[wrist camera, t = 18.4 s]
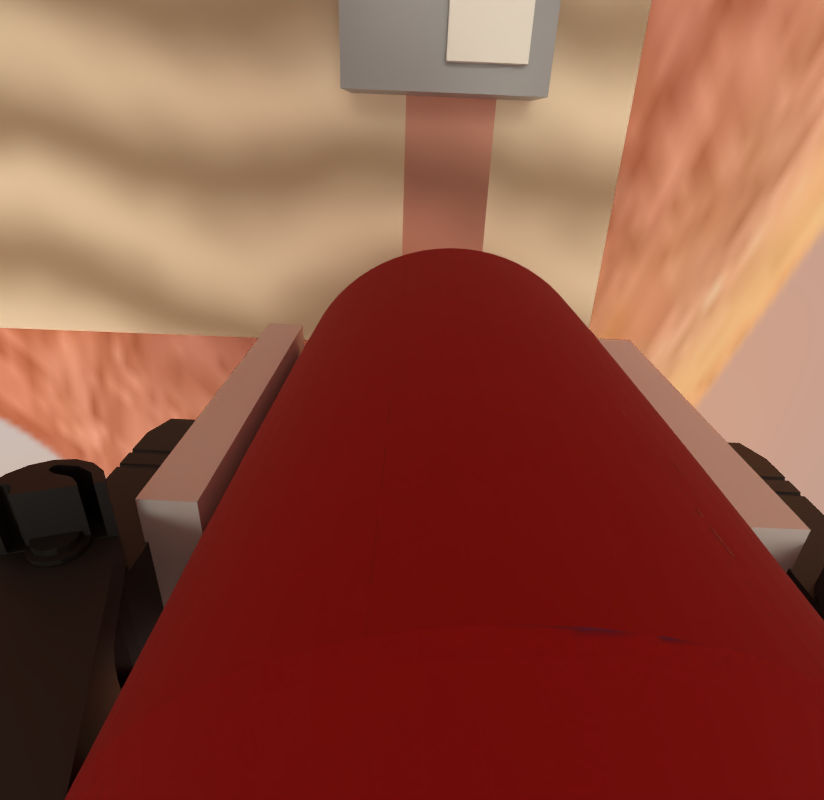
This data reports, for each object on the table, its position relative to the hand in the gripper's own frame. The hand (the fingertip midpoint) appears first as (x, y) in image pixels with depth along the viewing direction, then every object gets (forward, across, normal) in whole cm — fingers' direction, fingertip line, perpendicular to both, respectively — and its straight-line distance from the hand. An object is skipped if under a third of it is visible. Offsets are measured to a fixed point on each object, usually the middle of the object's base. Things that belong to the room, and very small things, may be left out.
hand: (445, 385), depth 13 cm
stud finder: (+16, 0, +9) cm, 18 cm away
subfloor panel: (+17, -8, +4) cm, 19 cm away
